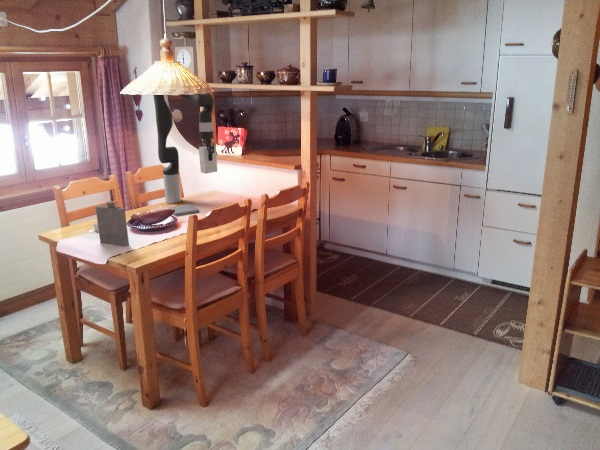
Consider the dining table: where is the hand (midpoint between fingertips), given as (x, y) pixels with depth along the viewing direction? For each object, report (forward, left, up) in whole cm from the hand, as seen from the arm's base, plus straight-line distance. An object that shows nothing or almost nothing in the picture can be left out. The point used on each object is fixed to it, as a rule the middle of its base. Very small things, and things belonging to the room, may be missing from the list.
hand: (208, 159), depth 302 cm
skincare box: (0, 0, -7) cm, 7 cm away
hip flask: (+38, -65, -28) cm, 80 cm away
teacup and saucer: (+14, -67, -28) cm, 74 cm away
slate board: (0, -18, -28) cm, 33 cm away
